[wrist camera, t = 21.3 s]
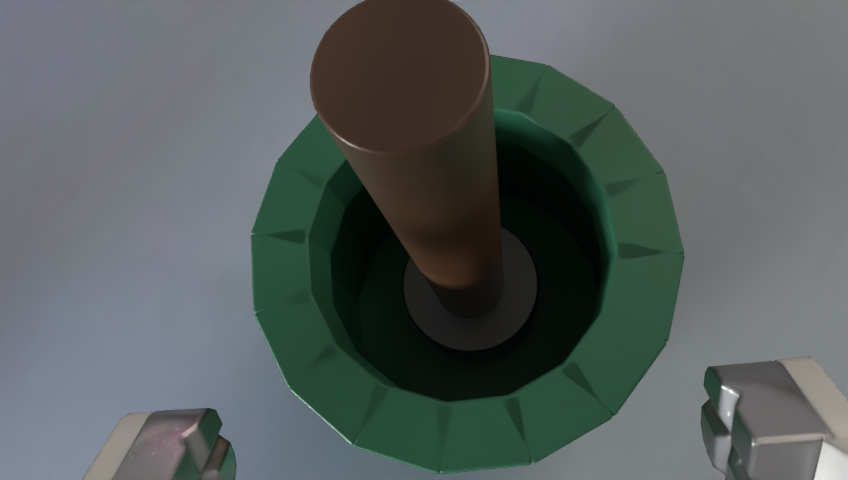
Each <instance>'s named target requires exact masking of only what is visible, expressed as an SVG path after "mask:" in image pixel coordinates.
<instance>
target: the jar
mask: <svg viewBox="0 0 848 480" xmlns="http://www.w3.org/2000/svg"><path fill="white" fill-rule="evenodd" d="M490 58H491V73H492V90H493V106H494V123H495V140H496V156H497V173H498V189H499V206H500V223H501V225H503V226H505V227H506V228H508V229H510V230H511V231H512V232H514V233H515V234H516V235H517V236H518V237H519V238H520V239H521V240H522V241H523V242H524V243H525V244H526V246H527V247H528V249H529V250H530V252H531V254H532V256H533V258H534V260H535V263H536V266H537V270H538V274H539V295H538V300H537V305H536V309H535V314H534V318H533V321H532V324H531V327H530V329H529V331H528V333H527V334H526V336H525V338H524V339H523V340H522V341H521V343H520V344H519V345H518V346H517V347H516V348H514V349H513V350H512V351H511V352H509V353H507V354H506V355H504V356H502V357H500V358H497V359H494V360H491V361H486V362H467V361H463V360H459V359H456V358H454V357H452V356H450V355H448V354H446V353H444V352H443V351H442V350H440V349H439V348H438V347H437V346H435V345H434V344H433V343H432V342H431V341H430V340H428V339H427V338H426V337H425V336H424V335H423V334H422V333H421V332H420V331H419V330H418V329H417V328H416V326H415V325H414V324H413V322H412V321H411V319H410V317H409V315H408V313H407V311H406V308H405V305H404V301H403V296H402V275H403V271H404V267H405V264H406V261H407V259H408V257H409V253H408V252H407V250H406V249H405V247H404V246H403V244H402V243H401V241H400V240H399V238H398V237H397V235H396V233H395V232H394V230H393V229H392V227H391V226H390V224H389V223H388V221H387V220H386V218H385V217H384V215H383V214H382V212H381V211H380V209H379V208H378V206H377V205H376V203H375V202H374V200H373V199H372V197H371V195H370V194H369V192H368V191H367V189H366V188H365V186H364V185H363V183H362V182H361V180H360V179H359V177H358V176H357V174H356V173H355V171H354V170H353V168H352V167H351V165H350V164H349V162H348V160H347V159H346V157H345V156H344V154H343V153H342V151H341V150H340V148H339V147H338V145H337V144H336V142H335V141H334V139H333V138H332V136H331V135H330V133H329V132H328V130H327V129H326V127H325V125H324V124H323V122H322V121H321V119H320V118H319V116H318V114H316V116H315V117H314V118H313V119H312V120H311V121H310V123H309V124H308V125H307V126H306V127H305V129H304V130H303V131H302V132H301V133H300V134H299V136H298V137H297V138H296V139H295V140H294V141H293V143H292V144H291V145H290V146H289V147H288V148H287V150H286V151H285V152H284V153H283V154H282V156H281V157H280V158H279V159H278V162H277V163H276V165H275V168H274V171H273V173H272V176H271V179H270V182H269V185H268V187H267V190H266V193H265V196H264V199H263V201H262V204H261V207H260V210H259V212H258V215H257V218H256V221H255V224H254V226H253V229H252V235H251V252H252V280H253V308H254V313H255V318H256V320H257V322H258V324H259V326H260V329H261V331H262V333H263V335H264V337H265V339H266V342H267V344H268V346H269V348H270V350H271V352H272V355H273V357H274V359H275V361H276V363H277V365H278V367H279V370H280V372H281V374H282V376H283V378H284V380H285V383H286V385H287V386H288V387H289V388H290V390H291V392H292V393H293V394H294V395H296V396H297V397H298V398H299V399H300V400H301V401H302V402H303V403H305V404H306V405H307V406H308V407H309V408H310V409H311V410H312V411H314V412H315V413H316V414H317V415H318V416H319V417H320V418H321V419H323V420H324V421H325V422H326V423H327V424H328V425H329V426H330V427H332V428H333V429H334V430H335V431H336V432H337V433H338V434H339V435H341V436H342V437H343V438H344V439H345V440H346V441H347V442H348V443H350V444H351V445H354V447H356V448H358V449H362V450H365V451H368V452H371V453H374V454H377V455H380V456H383V457H386V458H390V459H393V460H396V461H399V462H402V463H405V464H408V465H411V466H414V467H418V468H421V469H424V470H427V471H430V472H433V473H436V474H438V473H442V474H449V473H458V472H467V471H476V470H486V469H495V468H504V467H514V466H523V465H529V464H531V463H532V462H533V463H536V462H538V461H540V460H541V459H543V458H545V457H546V456H548V455H550V454H552V453H553V452H555V451H557V450H559V449H560V448H562V447H564V446H565V445H567V444H569V443H571V442H572V441H574V440H576V439H577V438H579V437H581V436H583V435H584V434H586V433H588V432H589V431H591V430H593V429H595V428H596V427H598V426H600V425H601V424H603V423H605V422H607V421H608V420H610V419H611V418H612V417H613V416H614V415H616V414H617V413H618V411H619V410H620V408H621V407H622V406H623V404H624V403H625V401H626V400H627V399H628V397H629V396H630V394H631V393H632V392H633V390H634V389H635V387H636V386H637V385H638V383H639V382H640V380H641V379H642V378H643V376H644V375H645V373H646V372H647V371H648V369H649V368H650V366H651V365H652V364H653V362H654V361H655V359H656V358H657V357H658V355H659V354H660V352H661V351H662V350H663V348H664V347H665V345H666V341H668V340H669V335H670V330H671V324H672V319H673V314H674V309H675V304H676V299H677V293H678V288H679V283H680V278H681V273H682V268H683V262H684V257H685V256H684V255H683V254H684V250H683V245H682V241H681V237H680V233H679V228H678V224H677V220H676V216H675V212H674V207H673V203H672V199H671V195H670V190H669V186H668V182H667V178H666V174H665V173H663V172H664V171H663V169H662V167H661V166H660V165H659V163H658V162H657V161H656V159H655V158H654V157H653V155H652V154H651V153H650V151H649V150H648V149H647V147H646V146H645V145H644V143H643V142H642V141H641V139H640V138H639V137H638V135H637V134H636V133H635V131H634V130H633V129H632V127H631V126H630V125H629V123H628V122H627V121H626V119H625V118H624V117H623V115H622V114H621V113H620V111H619V110H618V109H617V108H616V107H615V105H614V104H612V103H611V102H609V101H607V100H606V99H604V98H602V97H601V96H599V95H597V94H596V93H594V92H592V91H591V90H589V89H587V88H586V87H584V86H582V85H581V84H579V83H577V82H576V81H574V80H572V79H571V78H569V77H567V76H566V75H564V74H562V73H561V72H559V71H557V70H556V69H554V68H552V67H551V66H549V65H547V66H546V65H545V64H540V63H535V62H529V61H524V60H518V59H512V58H507V57H501V56H496V55H490Z"/></svg>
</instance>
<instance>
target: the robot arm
mask: <svg viewBox="0 0 848 480" xmlns="http://www.w3.org/2000/svg"><path fill="white" fill-rule="evenodd" d="M704 387H705V390H706V392H707V394H708V396H709V398H710V399H709V400H708V401H707V402H706V403H705V404H704V405H703V406H702V409H701V428H702V435H703V441H704V444H705V447H706V451H707V454H708V456H709V458H710V461H711V463H712V465H713V467H714V468H716V469H717V470H719V471H720V472H721V473H723V474H724V475H726V478H725V480H848V400H847V399H846V398H845V397H844V395H843V394H842V393H841V391H840V390H839V389H838V388H837V386H836V385H835V384H834V382H833V381H832V380H831V379H830V377H829V376H828V375H827V374H826V372H825V371H824V370H823V368H822V367H821V366H820V365H819V363H818V362H817V361H816V360H814V359H812V358H811V357H803V358H793V359H782V360H775V361H765V362H754V363H743V364H732V365H721V366H710V367H708V368H707V370H706V372H705V378H704ZM221 426H222V422H221V420H220V418H219V416H218V413H217V411H216V410H214V409H210V408H201V409H184V410H166V411H155V412H143V413H128V414H127V415H125V416H124V417H122V418H121V419H120V420H119V422H118V423H117V425H116V426H115V428H114V429H113V431H112V433H111V434H110V436H109V437H108V439H107V440H106V442H105V444H104V445H103V447H102V448H101V450H100V452H99V453H98V455H97V456H96V458H95V459H94V461H93V463H92V464H91V466H90V467H89V469H88V470H87V472H86V474H85V475H84V477H83V478H82V480H235V477H236V459H235V453H234V450H233V448H232V445H231V443H230V442H229V441H227V440H226V439H225V438H223V437H222V436H220V435H219V431H220V429H221Z"/></svg>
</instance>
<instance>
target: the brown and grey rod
mask: <svg viewBox="0 0 848 480" xmlns="http://www.w3.org/2000/svg"><path fill="white" fill-rule="evenodd" d="M310 90H311V97H312V101H313V104H314V107H315V110H316V112H317V114H318V116H319V118H320V119H321V121H322V122H323V124H324V125H325V127H326V129H327V130H328V132H329V133H330V135H331V136H332V138H333V139H334V141H335V142H336V144H337V145H338V147H339V148H340V150H341V151H342V153H343V154H344V156H345V157H346V159H347V160H348V162H349V164H350V165H351V167H352V168H353V170H354V171H355V173H356V174H357V176H358V177H359V179H360V180H361V182H362V183H363V185H364V186H365V188H366V189H367V191H368V192H369V194H370V195H371V197H372V199H373V200H374V202H375V203H376V205H377V206H378V208H379V209H380V211H381V212H382V214H383V215H384V217H385V218H386V220H387V221H388V223H389V224H390V226H391V227H392V229H393V230H394V232H395V233H396V235H397V237H398V238H399V240H400V241H401V243H402V244H403V246H404V247H405V249H406V250H407V252H408V253H409V257H408V259H407V261H406V264H405V267H404V271H403V275H402V296H403V301H404V305H405V308H406V311H407V313H408V315H409V317H410V319H411V321H412V322H413V324H414V325H415V326H416V328H417V329H418V330H419V331H420V332H421V333H422V334H423V335H424V336H425V337H426V338H427V339H428V340H430V341H431V342H432V343H433V344H434V345H435V346H437V347H438V348H439V349H440V350H442V351H443V352H444V353H446V354H448V355H450V356H452V357H454V358H456V359H459V360H463V361H467V362H486V361H491V360H494V359H497V358H500V357H502V356H504V355H506V354H507V353H509V352H511V351H512V350H513V349H514V348H516V347H517V346H518V345H519V344H520V343H521V341H522V340H523V339H524V338H525V336H526V334H527V333H528V331H529V329H530V327H531V324H532V321H533V318H534V314H535V309H536V305H537V300H538V295H539V274H538V270H537V266H536V263H535V260H534V258H533V256H532V254H531V252H530V250H529V249H528V247H527V246H526V244H525V243H524V242H523V241H522V240H521V239H520V238H519V237H518V236H517V235H516V234H515V233H514V232H512V231H511V230H510V229H508V228H506V227H505V226H503V225H501V223H500V206H499V189H498V173H497V156H496V140H495V123H494V106H493V90H492V73H491V58H490V53H489V48H488V45H487V42H486V40H485V37H484V35H483V33H482V31H481V30H480V28H479V26H478V25H477V24H476V23H475V21H474V20H473V19H472V18H471V17H470V16H469V15H468V14H467V13H466V12H465V11H464V10H463V9H461V8H460V7H458V6H457V5H456V4H454V3H452V2H450V1H448V0H365V1H363V2H361V3H359V4H357V5H356V6H354V7H352V8H351V9H349V10H348V11H347V12H345V13H344V14H343V15H342V16H340V17H339V18H338V19H337V20H336V21H335V22H334V23H333V24H332V25H331V27H330V28H329V29H328V31H327V32H326V33H325V35H324V36H323V38H322V40H321V41H320V43H319V45H318V47H317V50H316V52H315V55H314V58H313V62H312V67H311V73H310Z"/></svg>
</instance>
